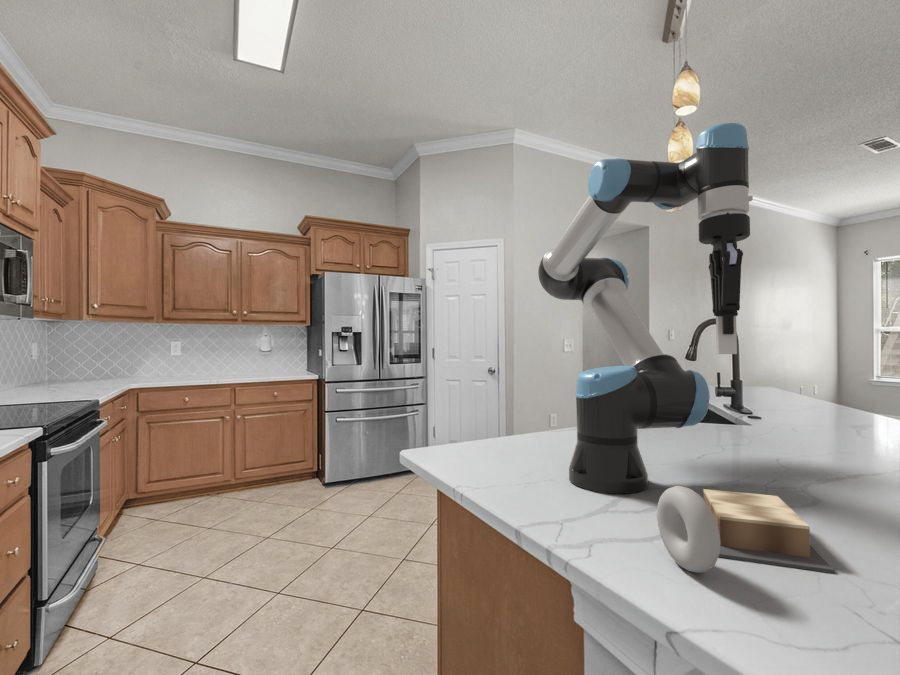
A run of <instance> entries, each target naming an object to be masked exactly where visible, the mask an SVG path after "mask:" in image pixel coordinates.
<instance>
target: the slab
mask: <svg viewBox="0 0 900 675" xmlns="http://www.w3.org/2000/svg"><path fill="white" fill-rule="evenodd" d="M702 492H703V493H702V494H703V495H702V496H703V497H702V498H703V500H704V501H705V502H706V503H707V505H708V506H709V508H710V509H711V511H712V513H713V515H714V517H715V520H716V523H717V526H718V529H719V535H720V542H721V543H720V546H726V547H734V548H741V549H749V550H756V551H764V552H771V553H779V554H787V555H794V556H802V557H809V558H810V545H811V536H810V535H811V534H810V532H811V531H810V525H809V524H808V523H807V522H806V521H804V519H802V518H801V517H800V516H799V515H798V514H797V513H796V512H795V511H794V510H793V509H792V508H791V507H790V506H789V505H788V504H786V502H784V500H782V499H781V498H780V497H779V496H778V495H770V494H761V493H752V492H751V493H750V492H741V491H739V492H738V491H728V490H718V489H717V490H716V489H705V488H703V489H702Z"/></svg>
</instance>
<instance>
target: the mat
mask: <svg viewBox="0 0 900 675" xmlns="http://www.w3.org/2000/svg"><path fill="white" fill-rule="evenodd" d="M718 558H722V559H725V558H726V559H731V560H739V561H747V562H753V563H760V564H766V565H767V564H768V565H772V566H773V565H774V566H780V567H781V566H782V567H788V568H795V569H803V570H810V571H815V572H824V573H831V574H835V573H836V570H835V569H834V567H833V566H832V565H831V564H829V562H828V561H826V560H825V558H824V557H823V556H822V555H821V554H820V553H819V552H818V551H817V550H816V549H815V548H814V546H812V545H811V544H810V558H809V557H802V556H794V555H787V554H779V553H771V552H764V551H756V550H749V549H741V548H734V547H726V546H720V554H719V557H718Z"/></svg>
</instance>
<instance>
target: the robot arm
mask: <svg viewBox="0 0 900 675" xmlns="http://www.w3.org/2000/svg"><path fill="white" fill-rule="evenodd" d="M747 133H748V132H747V128H746V127H745V126H744V125H743V124H741V123H739V122H738V123H737V122H735V123H734V122H723V123H720V124H716V125H712V126H710V127H708V128H706V129H705V130H702V131H701V132H700V134H699V135H698V137H697V139H696V146H695V150H696V152H695V153H693V154H692V155H690V156H688V157H687V158H685V159H684V160H682V161H680V162H675V161H674V162H671V161H657V160H656V161H654V160H653V161H651V160H650V161H649V160H641V159H639V160H636V159H625V158H604V159H600V160H598V161H597V162H596V163H594V165H593V166H592V169H591V170H590V175H589V177H588V182H587V188H588V189H587V190H588V194H589V196H588V197H587V199H586V200H585V201H584V203H583V205H582V206H581V207H580V209H579V211H578V212H577V213H576V215H575V217H574V218H573V219H572V221H571V223H569V226H568V227H567V228H566V230H565V232H563V234H562V235H561V237H560V238H559V240H558V242H557V243H556V244H555V246H554V248H551V249H549V250H547V251H546V252H545V254H544V255H543V257H542V258H541V260H540V263H539V265H538V272H537V273H538V279H539V280H538V281H539V282H540V285H541V287H542V288H543V289H544V292H546V293H547V294H548V295H550V296H551V297H553V298H555V299H559V300H563V301H564V300H565V301H566V300H567V301H581V302H582V304H583V305H584V307H585V309H586V310H587V311H589V312H592V313H595V316H596V317H597V319H598V321H599V322H600V324H601V326H602V328H603V330H604V331H605V333H606V335H607V337H608V339H609V340H610V342H611V344H612V346H613V348H614V350H615V351H616V353H617V355H618V357H619V358H620V361H621V363H622V364H623V365H614V366H613V365H612V366H604V367H603V366H602V367H596V368H590V369H587V370H584V371H581V372H580V373H579V374H578V375H577V377H576V387H575V393H574V394H575V399H576V402H575V403H576V438H577V439H576V445H575V448H574V451H573V455H572V458H571V460H570V463H569V467H568V480H569V481H570V483H571V484H573V485H575V486H576V487H580V488H581V489H585V490H589V491H593V492H599V493H606V494H607V493H608V494H631V493H632V494H633V493H639V492H642V491H644V490H646V489H647V488H648V487H649V475H648V471H647V469H646V466H645V463H644V461H643V456H642V455H641V450H640V449H639V446H638V445H639V444H638V430H643V429H644V430H645V429H667V428H668V429H669V428H675V429H681V428H684V427H693V426H696V425H698V424H699V423H701V421H703V420H704V418H705V417H706V415H707V413H708V409H709V407H710V395H711V394H710V389H709V385H708V383H707V380H706V379H705V378H704V376H703V375H702V374H701V373H700V372H697V371H694V370H691V369H690V370H689V369H688V370H684V369H683V368H682V365H681V364H680V363H679V362H678V361H677V359H676V358H675V357H674V356H673V355H670V354H668V353H663V351H662V349H661V348H660V347H659V345H658V343H657V342H656V340H655V339H654V337H653V336H652V334H651V333H650V331H649V329H648V328H647V326H646V325H645V324H644V322H643V320H642V319H641V318H640V316H639V315H638V313H637V311H636V310H635V308H634V307H633V305H632V303H631V302H630V301H629V299H628V298H627V296H626V295H627V291H628V289H629V284H630V282H629V277H628V275H629V273H628V271H627V268H626V267H625V265H624V264H623V262H621V261H620V260H618V259H615V258H609V257H598V258H597V257H596V258H595V257H587V256H588V255H589V253H590V252H591V251H592V250H593V248H595V246H596V245H597V244H598V242H599V241H600V240H601V239H602V238H603V237H604V235H605V234H606V232H607V231H609V229H610V228H611V227H612V226H613V224H614V223H615V222H616V220H617V219H618V218H619V216H621V214H622V213H623V212H624V211H625V210H626V209H627V207H629V205H630V204H631V203H653V204H654V206H656V207H658V208H659V209H661V210H673V209H676V208H680V207H682V206H685V205H687V204H688V203H690V202H692V201H694V200H696V199H697V217H698V218H697V219H698V220H700V222H699V223H698V241H699V243H700V244H703V245H711V246H712V247H713V248H712V252H711V253H709V255H708V258H709V262H708V263H709V265H708V269H709V275H710V287H711V298H712V299H711V301H712V302H711V303H712V313H713V316H714V317H715V329H716V355H737V354H738V339H737V338H738V337H737V336H738V335H737V332H738V331H737V317H738V316H739V312H738V311H740V309H741V305H740V304H741V282H742V280H741V279H742V262H743V261H742V260H743V256H744V252H743V250H741V248H738V243H737V242H741V241H744V240H746V239H748V238H749V237H750V235H751V217H750V216H749V215H748V213H749V212H750V202H752V201H753V198H754V196H753V195H749V193H750V192H749V191H750V190H749V188H750V186H749V184H750V183H749V180H750V179H749V150H750V147H749V141H748V134H747Z"/></svg>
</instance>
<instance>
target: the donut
mask: <svg viewBox="0 0 900 675" xmlns="http://www.w3.org/2000/svg"><path fill="white" fill-rule="evenodd" d="M657 502H658V503H657V508H656V509H657V510H656V520H657V526H658V530H659V534H660V538H661V540H662V543H663V545H664V547H665V549H666V550H667V552H668V554H669V556H670V558H672V559H673V561H674V562H675V563H676V564H677V565H679V566H680V567H681V568H683V569H685V570H687V571H688V572H690V573H705V572H708V571H710V570H711V569H712V568H713V567H714V566H715V565H716V564H717V562H718V559H719V558H720V557H719V554H720V543H721V542H720V535H719V529H718V526H717V523H716V520H715V517H714V515H713V513H712V511H711V509H710V508H709V506H708V505H707V503H706V502H705V501H704V498H703V497H702V496H701V495H700V494H698V493H697V492H696V491H694V490H693V489H691V488H689V487H685V486H681V485H675V486H672V487H669V488H667V489H665V490H664V492H663V493H662V494H661V495H660V497H659V500H658V501H657Z"/></svg>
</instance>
